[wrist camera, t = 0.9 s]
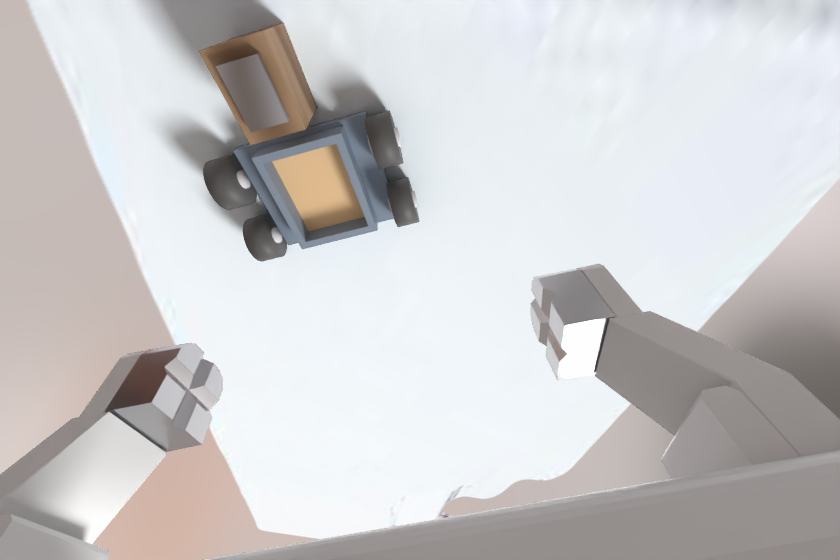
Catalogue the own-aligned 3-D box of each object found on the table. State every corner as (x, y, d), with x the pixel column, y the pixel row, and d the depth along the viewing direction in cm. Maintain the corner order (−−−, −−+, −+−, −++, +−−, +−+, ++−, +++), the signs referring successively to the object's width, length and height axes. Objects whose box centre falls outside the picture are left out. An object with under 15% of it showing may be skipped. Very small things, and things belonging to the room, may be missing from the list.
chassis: (391, 103, 36) (392, 118, 32) (419, 207, 43) (423, 229, 39) (212, 154, 37) (193, 174, 33) (269, 245, 45) (259, 270, 41)
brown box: (283, 22, 31) (260, 32, 25) (317, 107, 35) (304, 132, 29) (230, 39, 31) (194, 52, 25) (269, 120, 36) (247, 148, 30)
